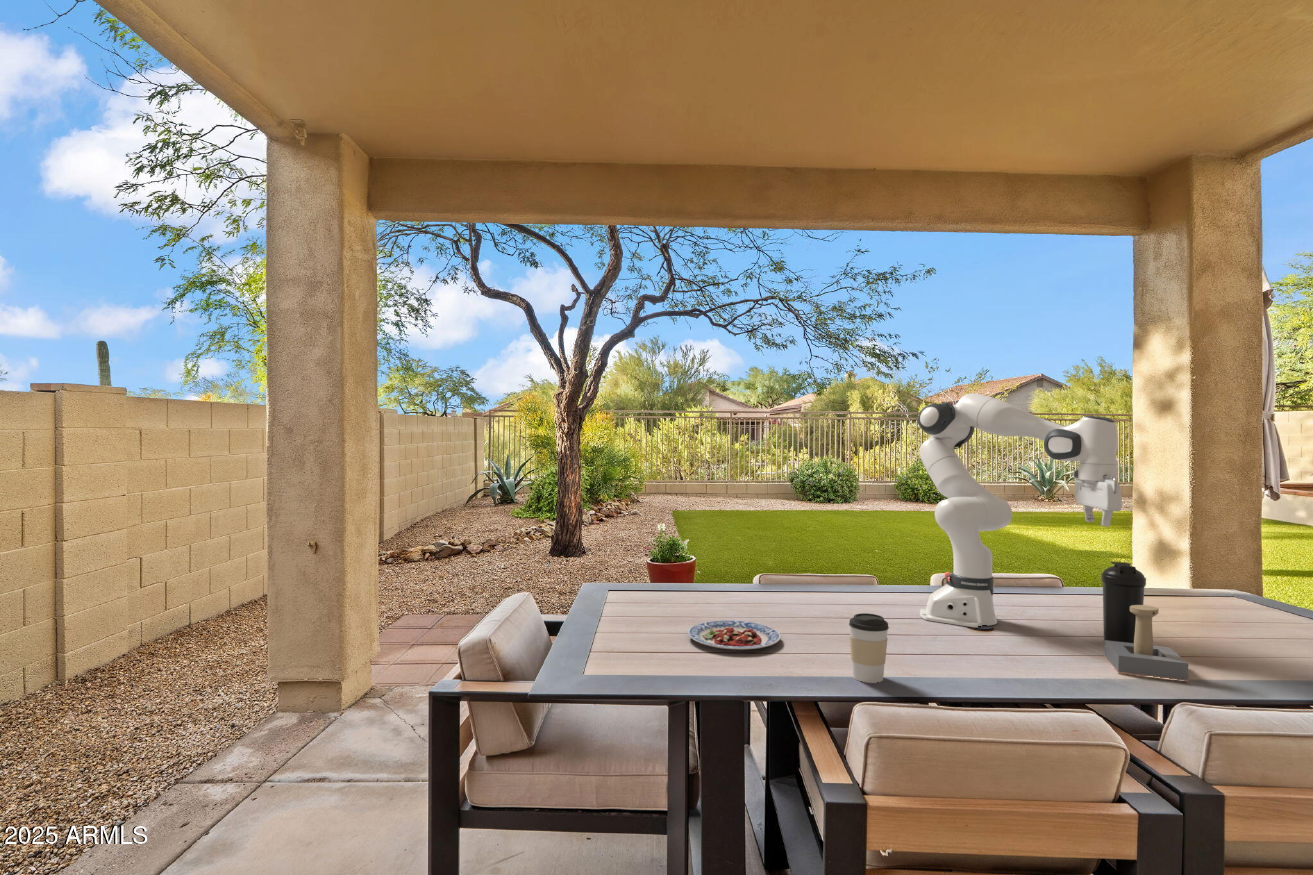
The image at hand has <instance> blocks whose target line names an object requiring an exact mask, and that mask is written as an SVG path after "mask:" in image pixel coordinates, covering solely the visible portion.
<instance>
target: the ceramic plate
mask: <svg viewBox="0 0 1313 875" xmlns="http://www.w3.org/2000/svg"><path fill="white" fill-rule="evenodd" d="M687 633H688V636H689V637H690V638H691V639H692V640H693V641H695V642H697V643H699V644H702V645H705V646H707V647H708V646H709V647H713V648H716V649H721V650H727V651H728V650H729V651H745V650H746V651H747V650H748V651H749V650H753V649H754V650H755V649H761V648H762V649H763V648H766V647H770V646H773V645H775V644H777V643H778V642H779V641H780V640H781V636H782V635H781V634H780V632H779V631H778V630H777V629H774V628H773V627H771V626H769V625H765V624H762V623H759V622H753V621H747V620H736V619H734V620H733V619H727V620H726V619H724V620H723V619H722V620H710V621H705V622H701V623H697V624H696V625H695V624H694V625H693V626H692V627H690V628H689V629H688V632H687Z"/></svg>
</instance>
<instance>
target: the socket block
mask: <svg viewBox="0 0 1313 875" xmlns="http://www.w3.org/2000/svg"><path fill="white" fill-rule="evenodd" d="M1103 649H1104V654H1103V655H1104V659H1105V660H1106V661H1107V660H1108V661H1109V662H1108V661H1107V662H1108V664H1110V666H1111V665H1112V666H1113V667H1114V668H1113V667H1112V666H1111V667H1112V668H1113V669H1114V671H1115V672H1116V671H1117V672H1118V673H1121V674H1120V675H1125V674H1130V675H1129V676H1133V675H1138V676H1137V677H1141V676H1153V677H1160V678H1169V679H1177V680H1184V681H1188V682H1189V662H1187V661H1186V660H1185V659H1184V658H1182V657H1181V656H1180V655H1179V654H1178V653H1177V652H1175V651H1174V649H1172V648H1171V647H1169V646H1161V645H1154V644H1153V656H1151V655H1142V654H1134V643H1126V642H1117V641H1108V640H1105V645H1104V648H1103ZM1117 672H1116V673H1117ZM1118 673H1117V674H1118Z"/></svg>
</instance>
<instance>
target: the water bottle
mask: <svg viewBox="0 0 1313 875" xmlns="http://www.w3.org/2000/svg"><path fill="white" fill-rule="evenodd" d="M1110 564H1113V566H1109V567H1107V568H1105V569H1104V570H1103V572H1101V574H1100V575H1101V577H1100V578H1101V579H1100V580H1101V582H1102V609H1103V610H1102V611H1103V613H1102V615H1103V617H1102V620H1103V623H1102V624H1103V645H1104V646H1105V640H1108V641H1117V642H1126V643H1134V635H1135V624H1136V615H1135V614H1133V613H1132V612H1130V606H1132V605H1144V598H1145V587H1146V585H1147V578H1146V577H1145V575H1144V574H1143V573H1142V572H1141V571H1140V570H1138V569H1137V568H1136V566H1132V565H1131V563H1130V562H1121V561H1120V562H1119V561H1118V562H1117V561H1110Z"/></svg>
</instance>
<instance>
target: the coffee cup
mask: <svg viewBox="0 0 1313 875" xmlns="http://www.w3.org/2000/svg"><path fill="white" fill-rule="evenodd" d="M848 626H849V630H850V631H849V632H850V633H849V641H850V642H849V643H850V658H851V659H850V660H851V665H852V667H851V668H852V677H853V679H854V680H856V681H859V682H861V681H862V682H861V683H866V684H878V683H877V682H879V683H882V682H883V681H884V674H885V665H886V658H887V657H886V656H887V649H888V648H887V647H888V631H889V629H890V627H889V623H888V621H887V620H885V618H884V617H883V616H882V615H880V614H875V613H866V612H865V613H863V612H861V613H856V614H854V615H853V617H851V618H850V619H849V623H848ZM881 681H882V682H881Z"/></svg>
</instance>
